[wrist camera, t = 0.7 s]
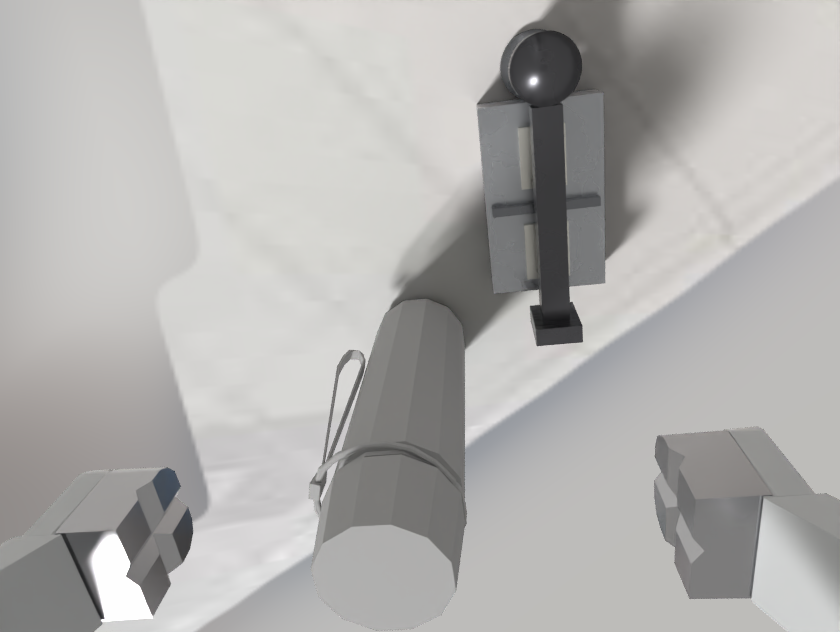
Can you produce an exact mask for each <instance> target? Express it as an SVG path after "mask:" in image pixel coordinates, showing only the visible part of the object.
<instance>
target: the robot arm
mask: <svg viewBox="0 0 840 632" xmlns="http://www.w3.org/2000/svg"><path fill="white" fill-rule="evenodd" d="M655 448H656V449H655V458H656V460H657V463H658V465H659V467H660V469H661V473H660V474H659V475H658V477H657V478H656V479H655V480H654V486H655V487H654V488H655V489H654V497H655V505H656V512H657V517H658V521H659V524H660V528H661V531H662V533H663V536H664V538H665V541H667V542H669V543H670V544H671V545H672V546H674V547H675V562H674V563H675V565H676V568H677V570H678V573H679V575H680V577H681V580H682V582H683V584H684V587H685V589H686V592H687V594H688V596H689V599H711V598H712V599H715V598H716V599H717V598H752V599H751V601H752V602H753V603H754V604H755V605H757V606H758V607H759V608H760V609H761V610H762V611H764V612H765V613H766V614H767V615H768V616H770V617H771V618H772V619H773V620H774V621H776V622H777V623H778V624H779V625H780V626H782V627H783V628H784V629H785V630H786V631H787V632H840V500H839V499H837V498H835V497H832V496H831V495H828V494H826V493H825V494H815V493H814V492H813V491H812V489H811V488H810V487H809V485H808V484H807V483H806V482H805V480H804V479H803V478H802V477H801V475H800V474H799V473H798V472H797V471H796V469H795V468H794V467H793V466H792V464H791V463H790V462H789V461H788V459H787V458H786V457H785V456H784V454H783V453H782V452H781V451H780V449H779V448H778V447H777V446H776V444H775V443H774V442H773V441H772V439H771V438H770V437H769V436H768V434H767V433H766V432H765V431H764V429H761V428H759V427H747V428H737V429H726V430H723V431H713V432H699V433H685V434H672V435H659V436H657V440H656V446H655ZM180 487H181V485H180V483H179V481H178V478H177V476H176V473H175V471H173V470H171V469H170V468H168V467H159V468H136V469H115V470H98V471H88V472H85V473H82V474H80V475H79V476H78V477H77V478H76V479H75V480H74V481H73V482H72V483H71V484H70V486H69V487H68V488H67V489H66V490H65V491H64V492H63V493H62V494H61V495H60V496H59V497H58V499H57V500H56V501H55V502H54V503H53V504H52V505H51V506H50V507H49V508H48V509H47V510H46V511H45V513H44V514H43V515H42V516H41V517H40V518H39V519H38V520H37V521H36V522H35V523H34V524H33V526H32V527H31V528H30V529H29V530H28V531H27V532H26V533H25V534H24V535H23V536H20V537H13V538H11V539H9V540H7V541H6V542H4V543H2V544H0V632H94V631H95V630H96V629H97V628H99V627H100V626H101V625H102V621H112V620H127V619H142V618H152V617H153V616H154V614H155V612H156V610H157V608H158V607H159V605H160V603H161V601H162V599H163V598H164V596H165V594H166V592H167V590H168V589H169V587H170V585H171V582H170V579H169V575H168V574H169V573H170V572H171V571H173V570H174V569H175V568H177V567H178V566H179V565H181V564H182V563H183V562H184V560H185V558H186V556H187V554H188V552H189V550H190V546H191V541H192V536H193V524H192V517H191V514H190V511H189V508H188V507H187V506H186V505H185V504H184V503H183V502H181V501H180V500H179V499H178V498H177V497H176V496H177V494H178V492H179V489H180Z"/></svg>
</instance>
